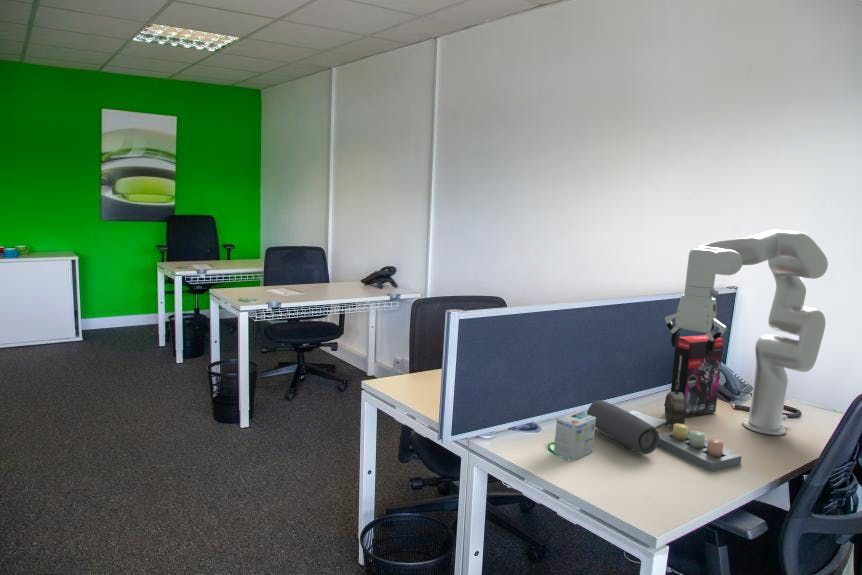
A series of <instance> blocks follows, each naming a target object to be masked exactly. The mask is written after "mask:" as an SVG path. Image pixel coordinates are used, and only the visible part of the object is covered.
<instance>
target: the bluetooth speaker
mask: <svg viewBox="0 0 862 575" xmlns="http://www.w3.org/2000/svg"><path fill="white" fill-rule="evenodd" d="M629 412H630V411H627V410H625V409H623V408H621V407H619V406H617V405H614V404H612V403H609V402H607V401H604V400H601V399H599V400H595V401H593V402H592V403H591V404H590V405H589V407H588V409H587V412H586V414H588V415H591V416H594V417H596V423H595V429H597V430H599V431H600V432H601V433H603V434H604V435H605V437H606V438H607V439H608V440H609V441H611V442H613V443H615V444H616V445H618V446H619V447H621V448H623V449H624V450H627V451H628V450H629V451H632V450H633V451H635V452H637V453H639V454H642V455H649V454H652V453H653V452H655V450H656V449H657V448H658V447H659V446H658V444H659V440H660V438H659V431H658V429H656V428H654V427H653V426H652V425H650V424H648V423H647V422H645V421H643V420H642V419H640V418H638V417H636V416H635V415H633V414H631V413H629Z"/></svg>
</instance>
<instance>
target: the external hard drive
mask: <svg viewBox="0 0 862 575" xmlns="http://www.w3.org/2000/svg"><path fill="white" fill-rule="evenodd" d="M628 412H629V413H631V414H633V415H635V416H636V417H638V418H640V419H642V420H643V421H645V422H647V423H648V424H650V425H652V426H653V427H654V428H656V429H657V428H658V429H660V428H662V427H665V426H664V425H666V423H667V422H666V420H665V419H664V420H663V419H661V418H657V417H655V416H652V415H648V414H645V413H643V412H639V411H636V410H630V411H628ZM666 426H667V425H666ZM658 429H657V430H658Z"/></svg>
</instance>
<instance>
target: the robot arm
mask: <svg viewBox="0 0 862 575" xmlns="http://www.w3.org/2000/svg"><path fill="white" fill-rule="evenodd" d="M812 238H813V237H812ZM812 238H811V236H810V235H808V234H807V233H805V232H803V231H802V232H801V231H796V230H795V231H794V230H784V229H783V230H781V229H770V230H767V231H764V232H760V233H757V234H755V235H750V236H747V237H741V238H733V239H732V238H731V239H725V240H717V241H712V242H708V243H705V244H701V245H699V246H697V247H696V248H693V249H691V250H690V251H689V252H688V253H689V254H688V260H687V267H686V274H685V275H686V277H685V284H684V293H683V294H682V295H681V296H680V300H679V302H678V306H677V311H676V312H675V313H672V314H670V315H666V316H664V321H665V323H666V326H667V328H668V329H669V331H670V334H671V339H670V343H671V347H673V348H675V347H676V346H678V344H679V337H681V336H680V331H681V330H686V331H693V332H696V333H701V334H703V333H704V334H705V335H707V336H708V338H709V340H708V341H707V346H706V354H710V353H712V352H713V351H714V345H715V340H716V339H718V338H722V336H723V335H724V333H726V331H727V330H728V327H727V326H726V325H725V324H723V323H722V322H720V321H719V320H718V319H717V299H716V298H715V297H714V296H718V295H719V290H716V289H715V281H716V280H715V279H716V275H720V276H721V275H722V276H734V275H736V274H737V273H738V272H739V271H741V269H742V267H743V266H754V265H757V264H760V263H763V262H767V265H768V267H769V269H770V271H771V274H772V275H773V277H774V281H775V292H774V296H773V300H772V304H771V307H770V311H769V315H768V326H769V327H770V328H771V329H773V330H774V331H776V332H781V333H784V334H788V335H794V336H798V339H794V338H790V337H786V336H782V335H777V334H769V333H768V334H764V335H761V336H760V337H759V338H758V339H757V341H756V342H755V349H754V350H755V352H754V353H755V372H754V378H753V385H752V386H753V387H752V390H751V391H752V392H751V398H750V405H749V406H750V407H749V413H748V417H745V418H743V420H742V425H743V426H744V427H745V428H747V429H748V430H751V431H753V432H756V433H760V434H765V435H770V436H771V435H772V436H780V435H781V436H782V435H784V434H785V433H786V428H785V427H784V426H783V425H782V423H783V422H787V421H788V420H789V417H788V416H787V415H786V414H783V413H784V407H785V401H786V394H787V388H788V381H789V380H788V375H787V372H786V370H785V369H789V370H792V371H794V372H801V373H807V372H809V371H811V370H812V369H813V368H814V367H815V364H816V362H817V359H818V356H819V351H820V348H821V344H822V341H823V337H824V334H825V329H826V318H825V314H824V313H823V312H822V311H821V310H819V309H816V308H814V307H809V306H804V304H805V299H806V295H807V288H806V285H805V282H804V280H803V278H805V279H819V278H821V277H822V276H824V275H825V273H827V270H828V266H829V264H828V263H829V261H828V258H827V256H826V253H825V252H824V251H823V250H822V249H821V247H820V246H819V245H818V243H816V241H815V240H814V239H812ZM673 319H675V322H674V323H673V322H672V320H673ZM716 327H717V328H718V329H719V330H718V331H717V332H716V333H715V330H716Z"/></svg>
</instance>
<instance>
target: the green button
mask: <svg viewBox="0 0 862 575" xmlns="http://www.w3.org/2000/svg"><path fill="white" fill-rule="evenodd" d="M689 433H690V440H689V446H691V447H693V448H695V449H703V448H704V442H705V440H706V433H704V432H702V431H699V430H691V431H690V432H689Z"/></svg>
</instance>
